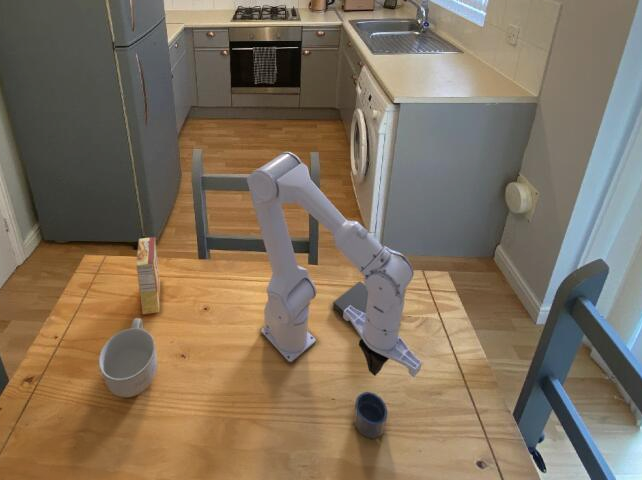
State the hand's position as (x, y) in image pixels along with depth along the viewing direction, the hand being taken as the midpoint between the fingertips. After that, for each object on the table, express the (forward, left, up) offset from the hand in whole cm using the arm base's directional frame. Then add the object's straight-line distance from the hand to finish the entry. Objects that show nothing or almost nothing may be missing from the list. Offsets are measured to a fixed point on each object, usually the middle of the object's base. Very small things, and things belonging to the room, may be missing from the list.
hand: (374, 369), depth 77 cm
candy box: (-48, -22, -9) cm, 53 cm away
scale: (-13, +15, -9) cm, 22 cm away
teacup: (-34, -33, -9) cm, 48 cm away
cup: (+2, -4, -9) cm, 10 cm away
